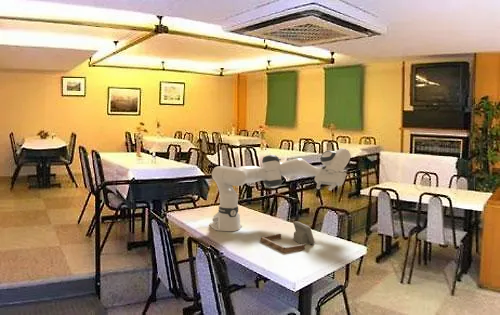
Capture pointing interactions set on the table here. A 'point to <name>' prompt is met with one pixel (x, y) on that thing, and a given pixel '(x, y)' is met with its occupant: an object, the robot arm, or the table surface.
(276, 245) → the frame
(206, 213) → the table surface
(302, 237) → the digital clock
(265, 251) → the table surface
